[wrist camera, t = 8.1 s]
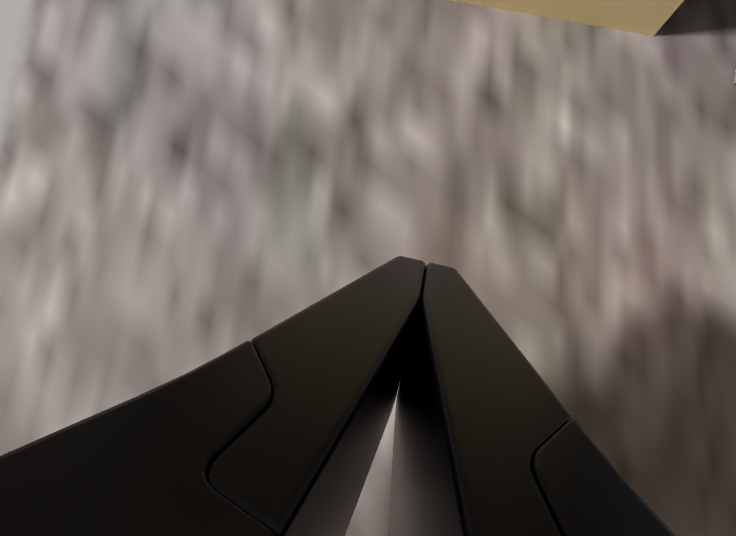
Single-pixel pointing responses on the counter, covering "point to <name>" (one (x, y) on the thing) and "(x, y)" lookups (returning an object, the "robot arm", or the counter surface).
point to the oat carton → (595, 11)
